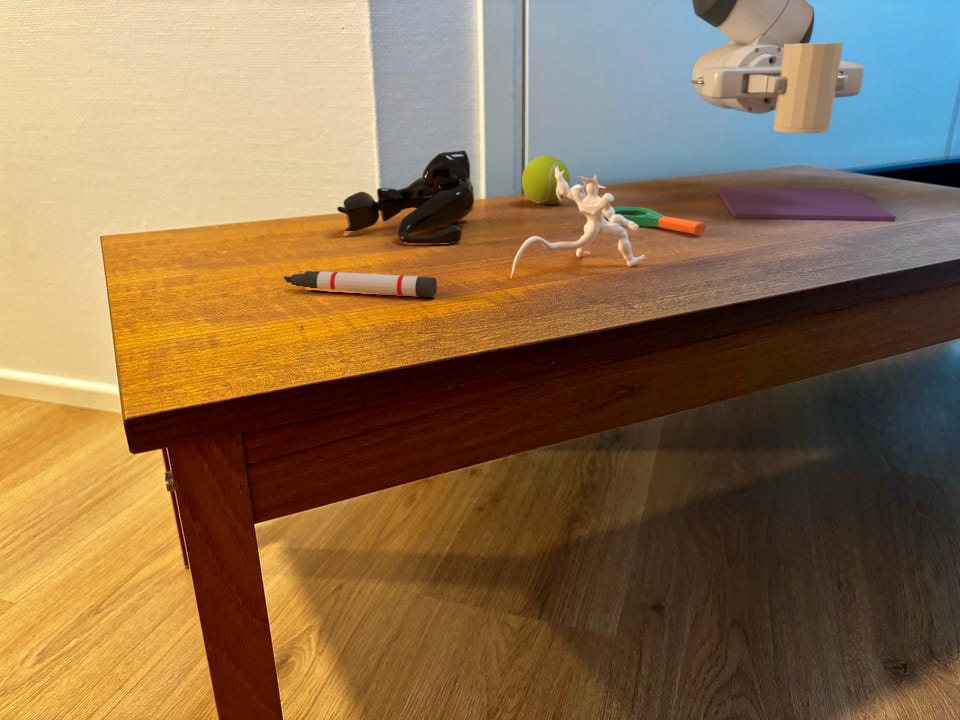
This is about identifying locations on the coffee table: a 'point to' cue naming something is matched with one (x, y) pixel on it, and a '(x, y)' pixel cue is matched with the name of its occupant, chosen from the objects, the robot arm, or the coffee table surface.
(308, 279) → the marker
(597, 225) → the creature figurine
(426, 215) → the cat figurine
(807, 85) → the pen cup
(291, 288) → the coffee table surface
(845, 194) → the mat
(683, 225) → the magnifying glass
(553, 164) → the tennis ball
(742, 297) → the coffee table surface
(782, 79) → the robot arm
